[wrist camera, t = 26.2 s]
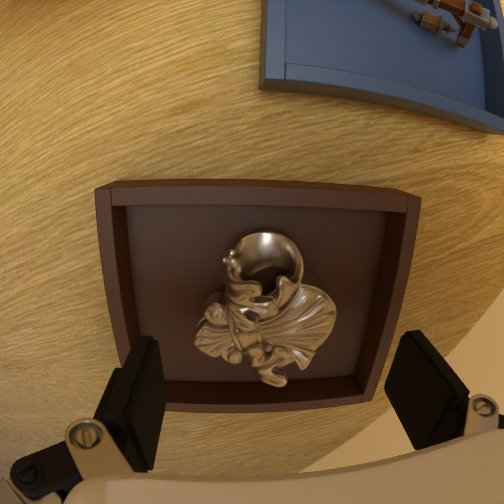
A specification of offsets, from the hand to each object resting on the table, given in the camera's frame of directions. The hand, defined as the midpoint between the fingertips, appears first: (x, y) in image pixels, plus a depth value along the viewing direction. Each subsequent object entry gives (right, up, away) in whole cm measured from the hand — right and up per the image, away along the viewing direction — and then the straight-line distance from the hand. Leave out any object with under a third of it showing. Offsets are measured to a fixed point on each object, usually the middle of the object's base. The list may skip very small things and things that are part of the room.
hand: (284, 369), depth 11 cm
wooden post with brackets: (+7, +18, +1) cm, 19 cm away
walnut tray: (-1, +2, +6) cm, 6 cm away
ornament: (-1, +2, +6) cm, 6 cm away
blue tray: (+7, +18, +1) cm, 19 cm away
